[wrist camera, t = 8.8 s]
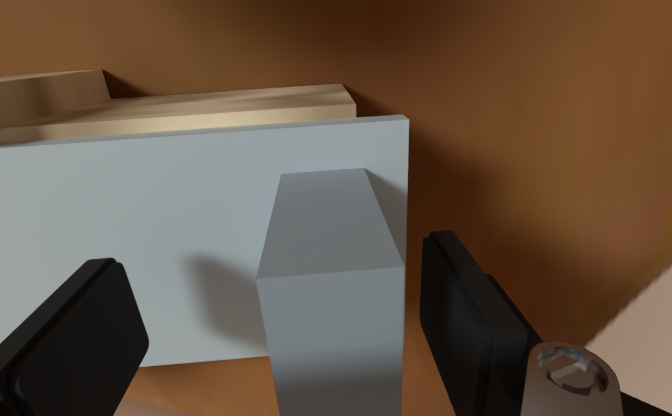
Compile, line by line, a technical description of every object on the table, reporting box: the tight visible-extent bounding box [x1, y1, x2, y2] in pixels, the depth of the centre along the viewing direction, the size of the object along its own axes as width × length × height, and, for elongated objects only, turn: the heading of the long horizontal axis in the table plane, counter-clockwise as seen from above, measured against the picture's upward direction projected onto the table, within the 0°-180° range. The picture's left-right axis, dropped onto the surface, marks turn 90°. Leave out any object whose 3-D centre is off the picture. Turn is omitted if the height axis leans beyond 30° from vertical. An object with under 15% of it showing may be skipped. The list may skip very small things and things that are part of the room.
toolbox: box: [0, 69, 356, 143], centre depth 14 cm, size 20×11×7 cm, turn 93°
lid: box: [0, 114, 409, 416], centre depth 10 cm, size 16×8×6 cm, turn 93°
